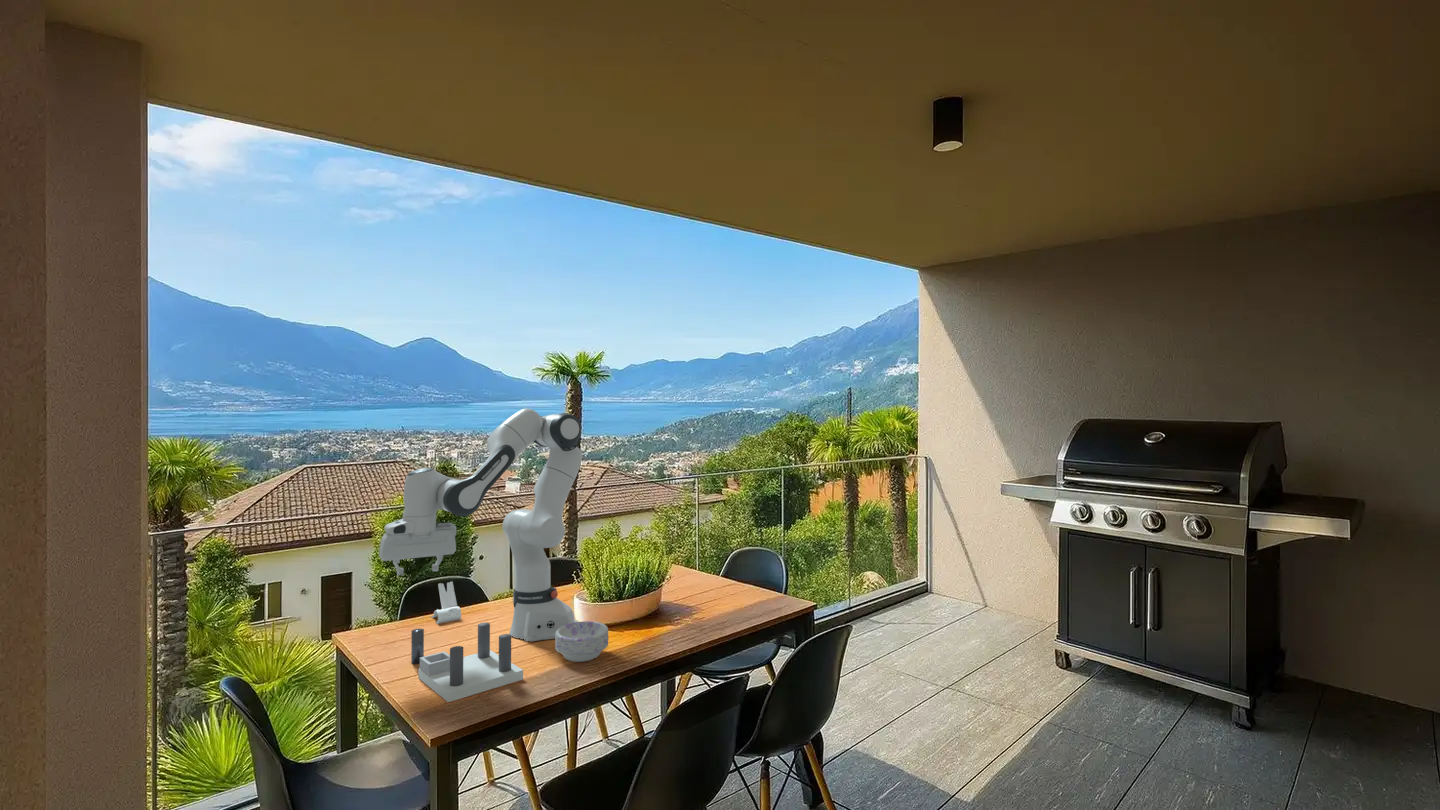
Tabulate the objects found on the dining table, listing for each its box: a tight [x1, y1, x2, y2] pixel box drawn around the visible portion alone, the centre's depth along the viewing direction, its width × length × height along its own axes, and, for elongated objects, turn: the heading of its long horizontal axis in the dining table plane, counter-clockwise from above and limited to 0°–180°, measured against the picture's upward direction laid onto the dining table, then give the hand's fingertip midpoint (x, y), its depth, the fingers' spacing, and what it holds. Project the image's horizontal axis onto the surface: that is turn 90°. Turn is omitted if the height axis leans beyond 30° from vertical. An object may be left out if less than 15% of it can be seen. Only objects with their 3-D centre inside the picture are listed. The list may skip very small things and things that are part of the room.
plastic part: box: [429, 581, 462, 625], centre depth 227 cm, size 8×10×12 cm
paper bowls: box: [554, 620, 609, 663], centre depth 193 cm, size 15×15×8 cm
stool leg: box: [410, 628, 425, 665], centre depth 189 cm, size 3×3×9 cm
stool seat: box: [418, 622, 524, 703], centre depth 177 cm, size 20×20×12 cm
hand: (417, 572), depth 191 cm, fingers open, 8 cm apart
